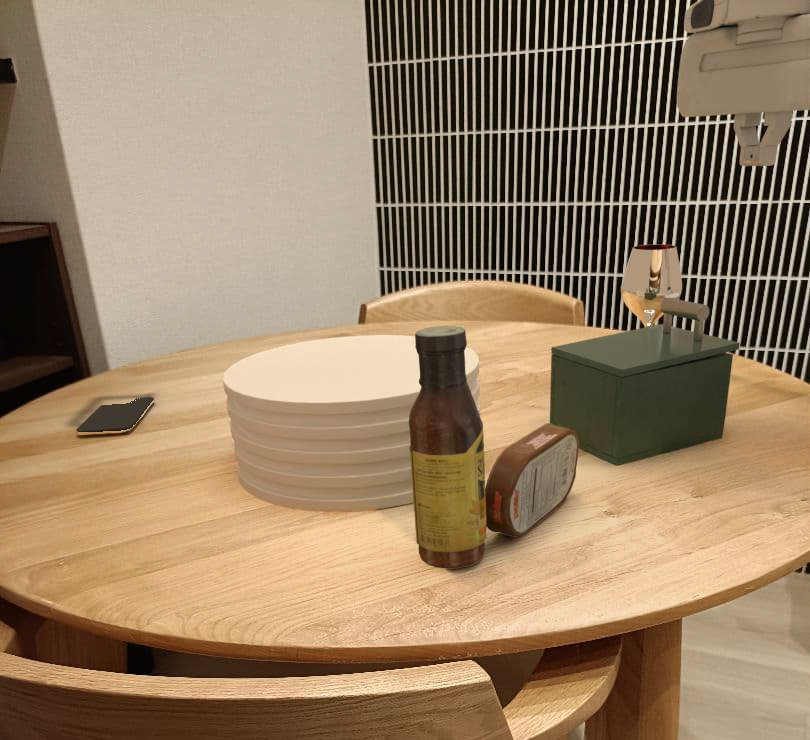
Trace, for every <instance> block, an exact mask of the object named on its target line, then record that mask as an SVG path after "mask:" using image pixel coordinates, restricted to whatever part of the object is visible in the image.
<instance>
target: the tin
mask: <svg viewBox="0 0 810 740" xmlns="http://www.w3.org/2000/svg"><path fill="white" fill-rule="evenodd" d="M579 449H580V448H579V438H578V435H577V434H576V432H575V431H573V430H571V429H568V428H565V427H561V426H556V425H554V424H552V423H550V422H547V423H544V424H543V425H541V426H539V427H538V428H535V429H534V430H533V431H532V432H529V433H528V434H526V435H524V436H523V437H521V438H520V439H518V440H516V441H515V442H513V443H510V444H509V445H508V446H507V447H505V448H504V449H503V450H502V451H501V452H500V454H499V455H498V456H497V458H496V460H495V462H494V464H493V465H492V467H491V469H490V472H489V474H488V477H487V481H486V482H485V492H486V493H485V499H486V529H487V530H489V531H490V532H491V533H499V534H502V535H506V536H509V537H512V538H513V537H514V538H521V537H523V536H525V535H526V534H528V533H529V532H530V531H531V530H533V529H534V528H535V527H536V526H537V525H539V524H540V523H542V521H544V520H545V519H547V518H548V517H549V516H550V515H551V514H553V513H554V512H555V511H556V510H558V509H559V508H560V507H561V506H562V505H563V504H564V502H565V501H566V500H567V498H568V497H569V494H570V492H571V490H572V488H573V485H574V482H575V479H576V475H577V465H578V458H579Z"/></svg>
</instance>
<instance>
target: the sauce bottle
mask: <svg viewBox="0 0 810 740" xmlns="http://www.w3.org/2000/svg"><path fill="white" fill-rule="evenodd" d="M414 336H415V344H416V346H415V347H416V350H417V353H418V355H419V369H420V379H419V384H420V385H421V390H420V393H419V395H418V397H417V399H416V400H415V403H414V404H413V407H412V409H411V411H410V415H409V428H410V443H411V445H410V461H411V475H412V488H413V501H414V502H413V511H414V512H413V513H414V525H415V540H416V541H415V542H416V544H417V545H418V554H419V558H420V559H421V561H422V562H424V563H425V564H426V565H427V566H428V565H429V566H431V567H434V568H437V569H446V570H454V569H460V568H461V569H462V568H467V567H471V566H473V565H475V564H477V563H478V562H480V561H481V560H482V559H483V558H484V555H485V551H486V540H487V535H488V533H487V530H488V528H487V526H486V499H485V493H486V492H485V488H486V463H485V462H486V461H485V443H484V442H485V441H484V436H485V435H484V423H483V420H482V418H481V414H480V415H479V412H478V410H477V407H476V404H475V402H474V399H473V396H472V394H471V391H470V388H469V386H468V383H467V377H466V373H465V354H464V352H465V349H466V347H468V346H467V345H468V342H467V341H468V340H467V333H466V329H465V328H464V327H461V326H454V325H437V326H429V327H424V328H422V329H419V330H416V331H415V334H414Z"/></svg>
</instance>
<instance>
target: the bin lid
mask: <svg viewBox="0 0 810 740" xmlns="http://www.w3.org/2000/svg"><path fill="white" fill-rule="evenodd" d="M660 310H661V312H662V313H664V315H663V323H661V324H655V325H653V326H650V327H645V326H644V327H641V328H637V329H631V330H627V331H622V332H618V333H612V334H607V335H604V336H603V335H602V336H598V337H594V338H590V339H585V340H580V341H575V342H570V343H565V344H561V345H556V346H552V347H551V352H550V353H551V354H550V355H552V354H553V355H556V356H559V357H562V358H565V359H568V360H571V361H575V362H578V363H581V364H584V365H587V366H590V367H593V368H596V369H599V370H602V371H605V372H608V373H611V374H614V375H617V376H620V377H625V376H629V375H633V374H637V373H642V372H646V371H650V370H654V369H659V368H663V367H667V366H671V365H675V364H680V363H684V362H688V361H692V360H697V359H701V358H705V357H709V356H713V355H718V354H722V353H730V352H735V351H738V350H740V342H739V341H735V340H731V339H726V338H722V337H717V336H713V335H710V334H704V325H705V321H706V320H707V319H708V318H709V315H710V307H709V306H708V305H707V304H702V303H697V302H694V301H693V302H692V301H687V300H682V299H672V298H665V299H664V300H663V301H662V302H661V305H660ZM673 316H674V317H679V318H682V319H683V318H684V319H688V320H692V321H694V331H692V330H688V329H683V328H680V327H675V326H673V324H672V323H673Z"/></svg>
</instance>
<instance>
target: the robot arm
mask: <svg viewBox="0 0 810 740" xmlns="http://www.w3.org/2000/svg"><path fill="white" fill-rule="evenodd" d="M683 28H684V31H685V32H686V33H690V34H691V35H689V36H688V38H687V39H686V41H684V44H683V47H682V50H681V54H680V61H679V68H678V78H677V90H676V106H677V108H678V111H679V113H680V115H681V116H682V118H695V117H696V118H697V117H712V116H726V115H734V118H733V119H734V121H733V130H734V134H735V135H736V138H737V139H736V140H737V141H738V144H739V146H740V152H739V162H738V163H739V165H740V166H743V167H768V166H774V165H775V164H776V161H777V153H778V147H779V145H780V144H781V142H782V140H783V139H784V137H785V135H786V134H787V132H788V131H789V130H790V127H791V125H792V121H793V114H794V111H795V112H797V111H810V0H697V1H696V2H695V3H692V4H691V5H690V6H689V7H688V8H687V9H686V11H685V14H684V21H683ZM763 114H764V118H763V126H764V127H767V129H766V131H765V133H764V135H763V137H762V139H761V140H759V136H758V132H757V128H756V127H759V126H760V125H761V122H762V115H763Z"/></svg>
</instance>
